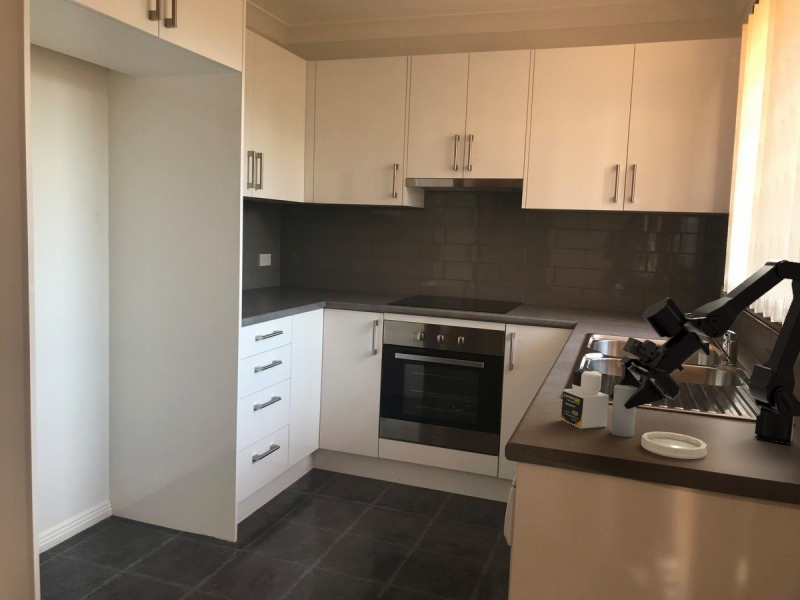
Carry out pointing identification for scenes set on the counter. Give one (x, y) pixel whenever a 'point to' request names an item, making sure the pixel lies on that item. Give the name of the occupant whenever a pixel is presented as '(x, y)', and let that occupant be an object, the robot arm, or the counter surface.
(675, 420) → the counter surface
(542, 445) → the counter surface
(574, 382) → the medicine bottle
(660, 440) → the saucer
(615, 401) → the grey cylinder
